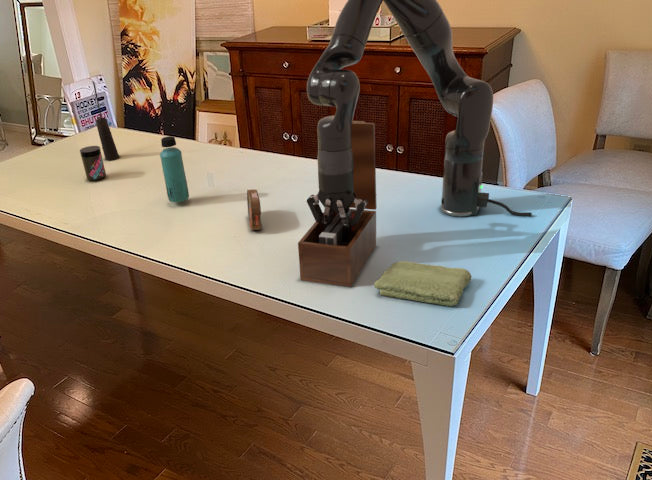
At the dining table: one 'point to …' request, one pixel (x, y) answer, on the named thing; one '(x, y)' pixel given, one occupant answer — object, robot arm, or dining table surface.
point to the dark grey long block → (334, 232)
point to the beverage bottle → (173, 171)
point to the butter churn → (105, 136)
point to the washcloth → (424, 283)
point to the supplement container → (93, 163)
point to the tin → (254, 209)
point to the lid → (364, 162)
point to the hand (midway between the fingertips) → (337, 239)
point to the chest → (337, 253)
